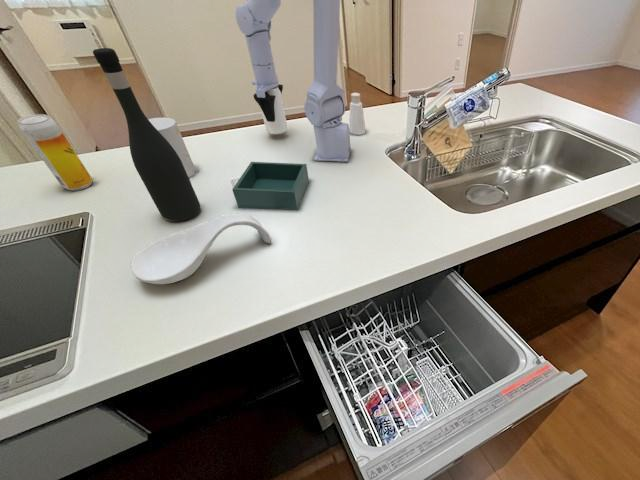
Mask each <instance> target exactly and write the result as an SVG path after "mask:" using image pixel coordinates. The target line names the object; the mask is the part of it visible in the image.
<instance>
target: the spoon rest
mask: <svg viewBox="0 0 640 480" xmlns="http://www.w3.org/2000/svg"><path fill="white" fill-rule="evenodd" d="M235 226H247V227H248V226H249V227H251V228H253V229H255V230H256V231H257V233H258V235H259V236H260V238H261V240H263V241H264V242H265V243H266V244H271V243H272V238H271V236H270V234H269V232H268V231H267V230H266V229H265V227H263V226H262V224H261V222H260V221H259V220H258V219H256V218H255V217H253V216H252V215H249V214H245V213H227V214H226V213H225V214H222V215H218V216H215V217H213V218H210V219H208V220H206V221H203V222H201V223H199V224H196V225H193V226H191V227H189V228H186V229H183V230H180V231H177V232H174V233H171V234H169V235H166V236H163V237H160V238H158V239H156V240H154V241H152V242H150V243H148V244H147V245H146V246H144V247H142V248H141V249H139V251H137V253H135V255H134V257H133V258H132V261H131V263H130V271H131V274H132V275H133V276H134V277H135V278H136V279H138V280H139V281H141V282H144V283H146V284H147V283H149V284H152V285H169V284H173V283H176V282H179V281H183V280H185V279H188V278H189V277H191V276H192V275H193V274H195V272H196V271H197V270H198V269H199V267H200V266H201V265H202V263H203V261H204V259H205V257H206V256H207V253H208V252H209V250H210V249H211V247H212V245H213V244H214V243H215V241H216V239H217V238H218V237H219V235H220V234H221V233H223V232H224V231H225V230H227V229H229V228H231V227H235Z"/></svg>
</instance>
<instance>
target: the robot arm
mask: <svg viewBox="0 0 640 480" xmlns="http://www.w3.org/2000/svg"><path fill="white" fill-rule="evenodd" d="M312 2H313V5H312V6H313V81H312V83H311V84H310V86H309V87H308V88H307V91H306V100H305V102H304V106H303V108H304V113H305V116H306V119H307V120H308V121H309V123H310V124H311V125H312V126H313V132H314V139H315V145H316V152H315V155H314V157H313V160H314V161H320V162H343V163H347V162H349V159H350V155H351V151H352V147H351V136H350V135H351V133H350V132H349V123H347V122H342V121H343V116H344V115H345V112H346V103H345V99H344V89H343V88H342V87H341V86H340V85H339V84H338V83H337V79H338V57H339V35H340V11H341V0H312ZM281 5H282V0H246V2H245V4H238V5H236V9H235V14H234V15H235V20H236V23H237V27H238V28H239V30H240V31H241V33H242V34H244V36H245V37H244V38H245V41H246V45H247V50H248V54H249V58H250V62H251V67H252V71H253V74H254V79H253V80H252V81H251V85H252V86H255V87H256V88H255V93H254V94H253V100H254V101H255V102H256V103H257V105H259V107H260V110H261V109H262V111H263V113H264V115H265V117H266V120H267V121H268V122H275V111H274V102H275V97H276V96H274V95H269V94H268V92H267V90H270V89H272V88H274V87H276V86H278V88H279V90H280V92H281V95H283V89H284V85H283V84H279V79H278V78H279V77H278V74H277V72H276V67H275V63H274V56H273V52H272V46H271V39H272V37H271V36H272V35H271V31H272V19H273V18H274V16H275V15H276V13H277V12H278V10H279V9H280V7H281ZM262 111H261V112H262Z"/></svg>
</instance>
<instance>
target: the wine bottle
mask: <svg viewBox="0 0 640 480" xmlns="http://www.w3.org/2000/svg"><path fill="white" fill-rule="evenodd" d="M92 54H93V56H94V58H95V60H96V62H97V64H99V66H100V67H101V69H102V71H103V73H104V75H105V77H106V78H107V81H108V83H109V85H110V87H111V89H112V91H113V93H114V94H115V97H116V98H117V101H118V102H119V104H120V106H121V109H122V111H123V113H124V116H125V120H126V123H127V131H128V143H129V151H130V156H131V159H132V163H133V165H134V168H135V170H136V172H137V174H138V175H139V177H140V179H141V181H142V183H143V185H144V186H145V188H146V190H147V192H148V194H149V196H150V197H151V199H152V201H153V203H154V205H155V207H156V209H157V210H158V212H159V214H160V216H161V217H162V218H163V219H165V220H167V221H171V222H183V221H187V220H189V219H192V218H194V217H195V216H197V215H198V214H199V212H200V211H201V203H200V201H199V198H198V196H197V193H196V191H195V189H194V186H193V185H192V182H191V180H190V177H189V178H188V175H187V173H186V171H185V168H184V166H183V164H182V161H181V159H180V158H179V156H178V154H177V153H176V151H175V150H174V149H173V147H172V146H171V145H170V143H169V142H168V141H167V140H166V139H165V138H164V137H163V135H162V134H161V133H160V132H159V131H158V130H157V129H156V128H155V127H154V126H153V125H152V124H151V122H150V121H149V120H148V119H149V118H148V117H147V116H146V114H145V113H144V111H143V110H142V108H141V106H140V104H139V102H138V100H137V98H136V96H135V94H134V92H133V89H132V87H131V85H130V83H129V79H128V78H127V75H126V74H125V72H124V70H123V68H122V65H121V63H120V59H119V57H118V54H117V52H116V51H115V49H113V48H110V47H102V48H96V49H93V50H92Z"/></svg>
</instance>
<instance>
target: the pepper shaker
mask: <svg viewBox="0 0 640 480" xmlns="http://www.w3.org/2000/svg"><path fill="white" fill-rule="evenodd" d="M350 99H351V102H350V103H349V117H348V119H349V122H348V125H349V133H350V135H355V136H360V135H361V136H362V135H365V133H366V131H367V130H366V123H365V116H364V107H363V103H362V102H361V93H359V92H351V94H350Z"/></svg>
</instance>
